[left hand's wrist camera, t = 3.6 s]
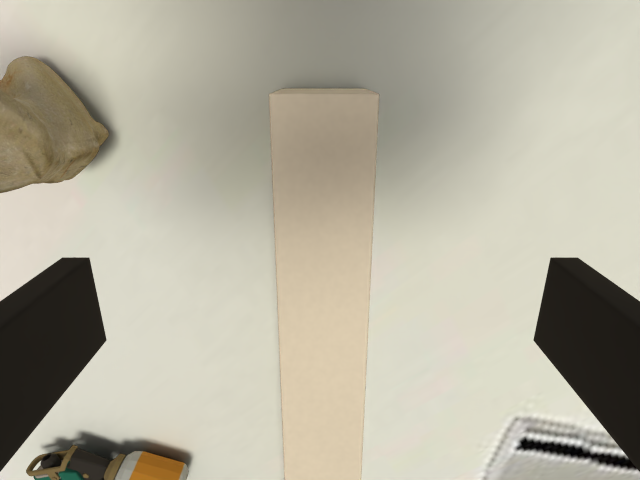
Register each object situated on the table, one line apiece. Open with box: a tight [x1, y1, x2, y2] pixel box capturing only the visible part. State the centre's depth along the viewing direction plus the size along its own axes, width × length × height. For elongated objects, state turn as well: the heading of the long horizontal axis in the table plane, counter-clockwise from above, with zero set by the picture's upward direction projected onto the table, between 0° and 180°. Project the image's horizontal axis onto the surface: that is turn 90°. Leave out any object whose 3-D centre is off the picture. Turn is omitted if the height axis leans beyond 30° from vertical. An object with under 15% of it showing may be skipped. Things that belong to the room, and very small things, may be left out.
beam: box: [269, 88, 379, 480], centre depth 35 cm, size 55×6×7 cm, turn 0°
